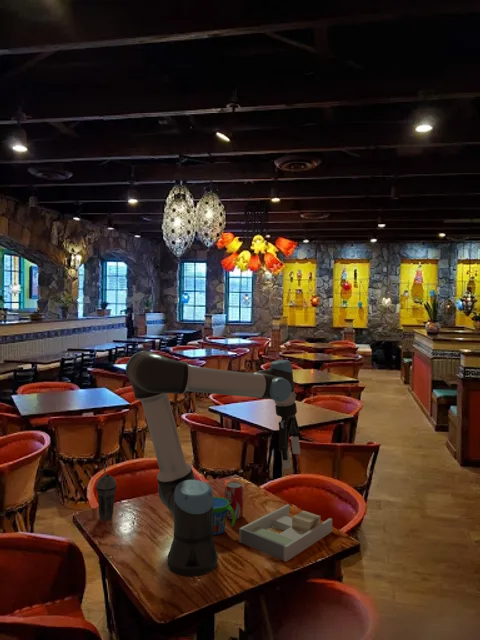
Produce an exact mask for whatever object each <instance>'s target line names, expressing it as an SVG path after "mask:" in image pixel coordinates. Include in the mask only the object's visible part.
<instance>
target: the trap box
mask: <svg viewBox="0 0 480 640" xmlns="http://www.w3.org/2000/svg"><path fill="white" fill-rule="evenodd" d="M290 508H291V507H290V504H288V503H287V504H285V505H283V506H282V507H279V508H277V509H275V510H273V511H271V512H269V513H267V514H266V515H265V514H264V515H263V516H262V517H259V518H258V519H257V518H256V519H255V520H253V521H251V522H249V523H248V524H246V525H243V526H241V527H239V528H238V542H239V543H241V544H243V545H245V546H247V547H251V548H252V549H255V550H257V551H260V552H262V553H265V554H267V555H270V556H272V557H274V558H277V559H279V560H282V561H283V562H288V561H289V560H291V559H293V558H294V557H296V556H297V555H298V554H300V553H302V552H303V551H305V550H307V549H308V548H310V547H311V546H313V545H314V544H315V543H317V542H319V541H320V540H321V539H323V538H325V537H326V536H327V535H329V534H331V533H332V532H333V518H332V517H329V518H327V519H326V520H324V521H323V522H320V524H319V525H318V526H316V527H314V528H313V529H311V530H309V531H308V532H306V533H304V532H301V531H299V530H296V529H293V528H292V517H290ZM272 526H273V527H272ZM275 527H276V528H275ZM269 528H275V529H278V530H280V529H281V530H280V531H281V532H280V533H276V532H273V531H270V530H268V529H269ZM283 530H284V531H283Z"/></svg>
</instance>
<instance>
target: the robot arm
mask: <svg viewBox="0 0 480 640" xmlns="http://www.w3.org/2000/svg"><path fill="white" fill-rule="evenodd" d="M125 373H126V378H127V379H128V381H129V382H130V384H131V387H132V392H133V394H134V399H135V400H137V401H139V402H141V404H142V409H143V413H144V417H145V420H146V425H147V427H148V431H149V435H150V439H151V442H152V446H153V451H154V453H155V457H156V461H157V464H158V468H159V472H158V474H157V475H156V480H157V483H158V487H157V490H158V495H159V496H158V497H159V498H160V500H161V502H162V504H163V505H164V506H165V507H166V508H167V509H168V511H169V512H170V513H171V515H172V517H173V539H172V542H171V546H170V549H169V551H168V553H167V561H166V562H167V563H166V564H167V565H166V566H167V567H168V570H170V571H172V573H174V574H178V575H181V576H190V577H192V576H195V577H196V576H201V575H205V574H209V573H210V572H212V571H214V570H215V569H216V567H218V562H219V561H218V552H217V549H216V546H215V542H214V539H213V535H212V526H213V503H214V498H213V497H214V491H213V488H212V486H211V485H210V484H208V482H206V481H201V480H199V479H196V478H195V474H194V471H193V468H192V465H191V464H189V463H188V462H186V459H185V455H184V451H183V448H182V444H181V440H180V436H179V432H178V429H177V428H178V427H177V424H176V420H175V416H174V413H173V409H172V405H171V401H170V398H169V394H174V395H175V394H177V395H183V394H185V393H186V392H192V393H194V392H195V393H203V394H204V393H205V394H212V395H213V394H214V395H224V396H225V395H226V396H237V397H248V398H256V399H257V398H258V399H263V400H264V399H267V400H273V401H274V404H275V405H274V406H275V414H276V416H278V417H280V418H281V420H280V421H278V448H277V449H278V451H279V452H280V453H281V462H282V469H287V470H288V469H292V463H291V456H290V455H291V454H290V449H289V443H290V442H289V440H290V441H291V448H292V450H291V451H292V454H293V455H301V449H300V448H301V447H300V438H299V437H300V436H301V435H302V434H301V430H300V428H299V424H298V421H297V420H298V419H297V417H296V414H297V413H298V408H297V403H296V401H297V400H296V397H297V394H296V392H295V382H294V371H293V366H292V362H291V360H288V359H277V360H274V361H271V362H270V367H269V368H267V369H262V370H257V371H253V372H251V371H250V372H244V371H243V372H242V371H235V370H234V371H233V370H225V369H217V368H211V367H210V368H207V367H201V366H193V365H190V364H189V363H188V362H186V361H182V360H181V361H180V360H175V359H172V358H170V357H169V358H168V357H166V356H164V355H162V354H158V353H156V352H154V351H151V350H142V351H139V352H135V353H134V354H133V355H132V356H131V357H130V358H129V359H128V361H127V363H126V366H125ZM290 435H291V436H290ZM289 438H290V439H289Z"/></svg>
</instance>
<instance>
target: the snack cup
mask: <svg viewBox="0 0 480 640" xmlns="http://www.w3.org/2000/svg"><path fill="white" fill-rule="evenodd" d="M213 498H214V503H213V526H212V536H218V535H221V534H223V533H224V532H225V530H226V525H227V519H228V518H227V512H228V511H230V512H231V516H232V519H231V523H230V526H231V527H233V526H234V525H235V523H236V519H235V513H234V510H233V508H232V507H231V506H230V505H229V501H228V500H227V499H225V497H220V496H213Z"/></svg>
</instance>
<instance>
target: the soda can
mask: <svg viewBox="0 0 480 640" xmlns="http://www.w3.org/2000/svg"><path fill="white" fill-rule="evenodd" d="M244 494H245V493H244V488H243V484H242V483H241V482H238V481H230V482H227V483H226V486H225V488H224V498H225V499H227V500H228V501H229V505H230V506H231V507H232V508H233V510H234V513H235V520H238V519H240V518H241V517H243V513H244ZM227 519H229V520H232V516H231V512H230V511H228V512H227Z"/></svg>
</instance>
